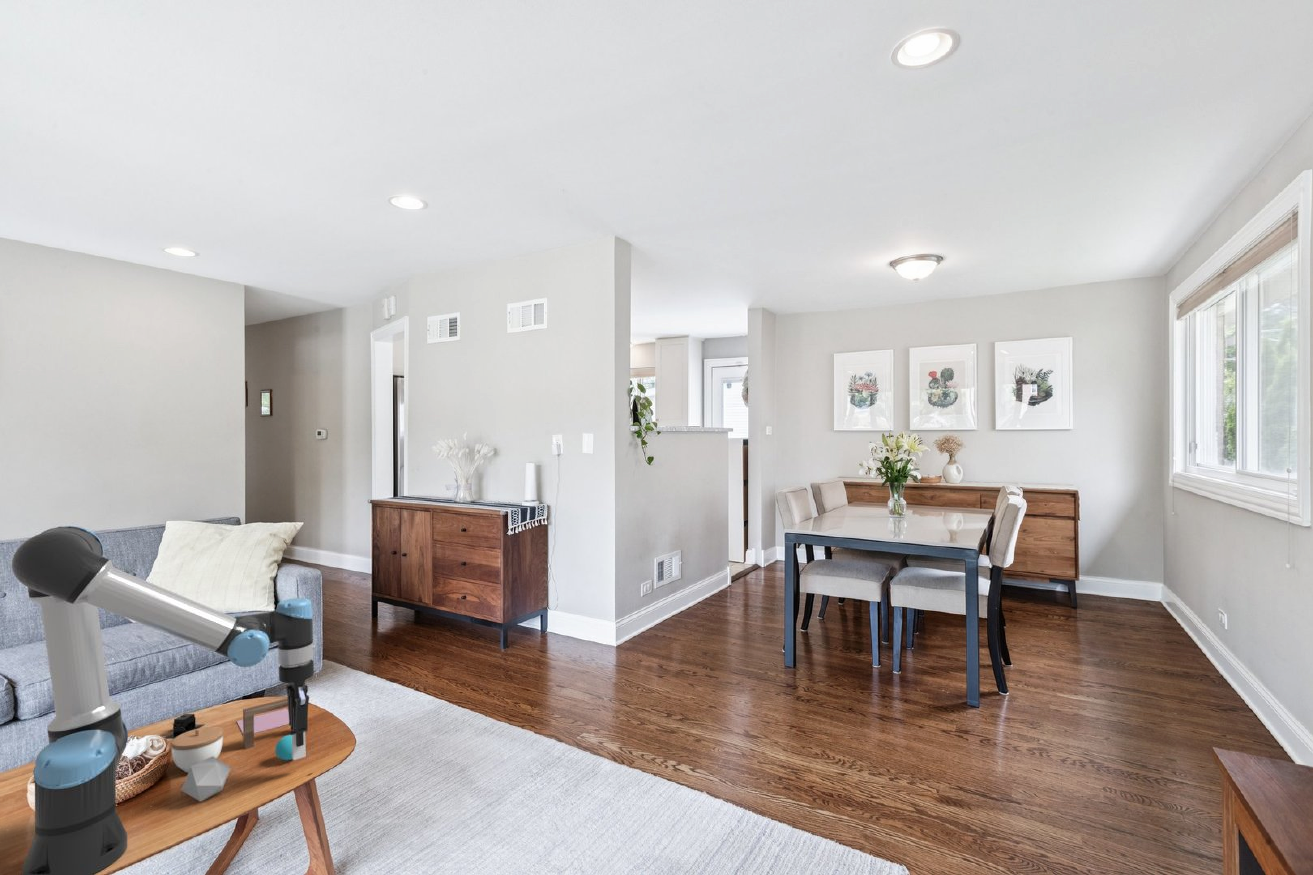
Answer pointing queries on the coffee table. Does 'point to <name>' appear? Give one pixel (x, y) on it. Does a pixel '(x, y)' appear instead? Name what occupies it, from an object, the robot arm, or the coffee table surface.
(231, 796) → the coffee table surface
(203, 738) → the lidded jar
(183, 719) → the black block on base
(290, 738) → the ball
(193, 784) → the die
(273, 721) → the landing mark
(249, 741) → the bridge
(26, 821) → the coffee table surface
